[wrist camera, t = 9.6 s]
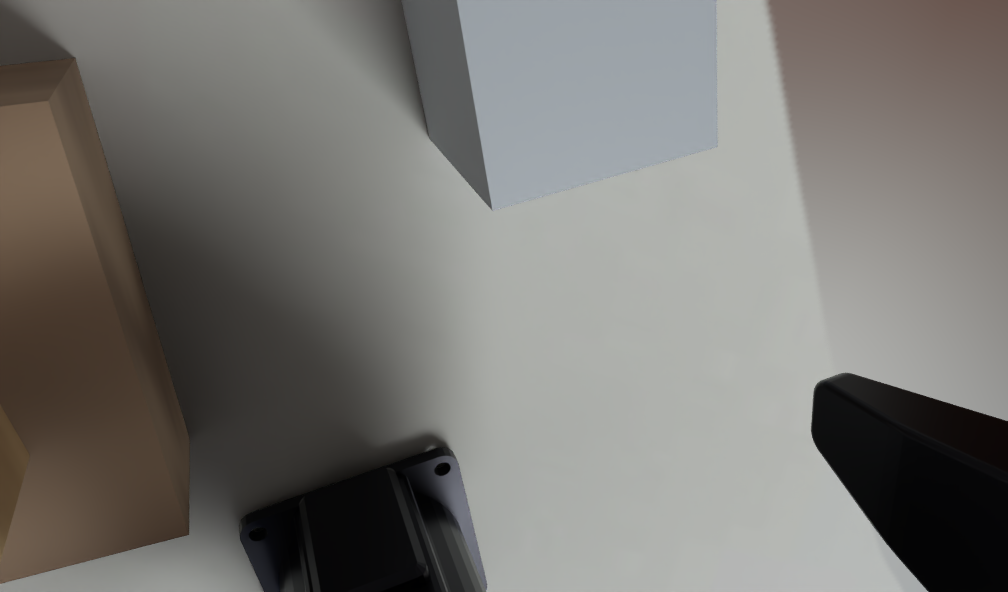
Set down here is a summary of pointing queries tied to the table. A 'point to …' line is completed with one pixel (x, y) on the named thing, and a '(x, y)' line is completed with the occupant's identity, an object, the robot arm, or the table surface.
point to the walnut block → (78, 342)
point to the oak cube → (10, 474)
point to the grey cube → (563, 88)
